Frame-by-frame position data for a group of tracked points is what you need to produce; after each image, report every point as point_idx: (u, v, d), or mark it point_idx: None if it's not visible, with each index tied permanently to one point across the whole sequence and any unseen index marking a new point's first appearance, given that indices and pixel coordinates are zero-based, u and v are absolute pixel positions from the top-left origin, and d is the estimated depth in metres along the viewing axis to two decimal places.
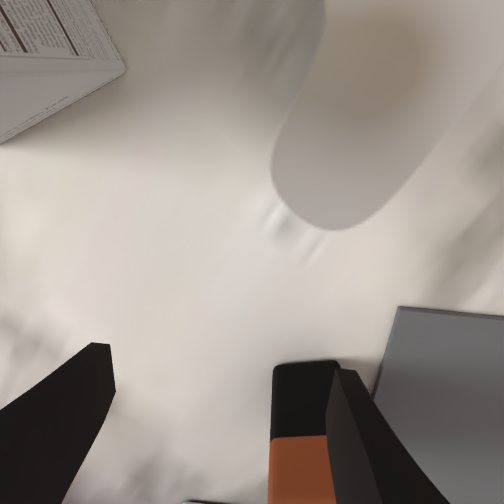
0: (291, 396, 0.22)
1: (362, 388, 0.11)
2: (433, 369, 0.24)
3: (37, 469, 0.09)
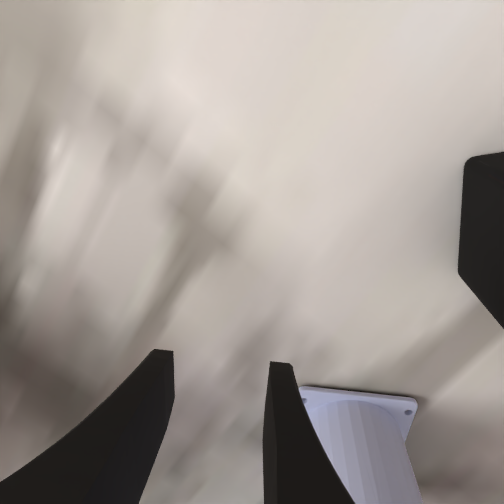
0: None
1: (290, 380, 0.11)
2: None
3: (122, 479, 0.09)
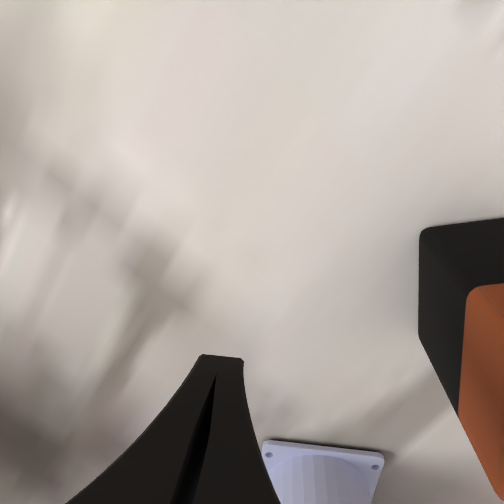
0: (472, 248, 0.15)
1: (237, 374, 0.11)
2: None
3: (187, 487, 0.09)
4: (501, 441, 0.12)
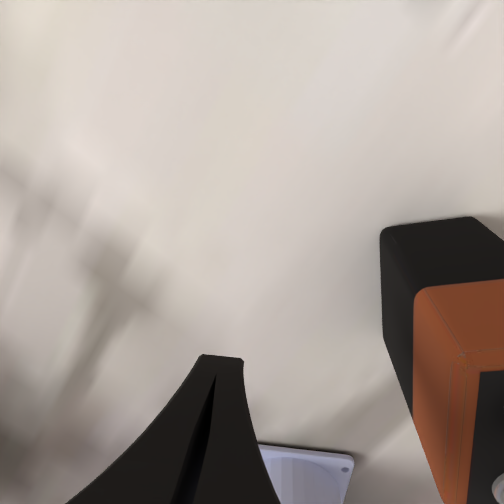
0: (426, 248, 0.15)
1: (237, 374, 0.11)
2: None
3: (187, 487, 0.09)
4: (444, 447, 0.12)
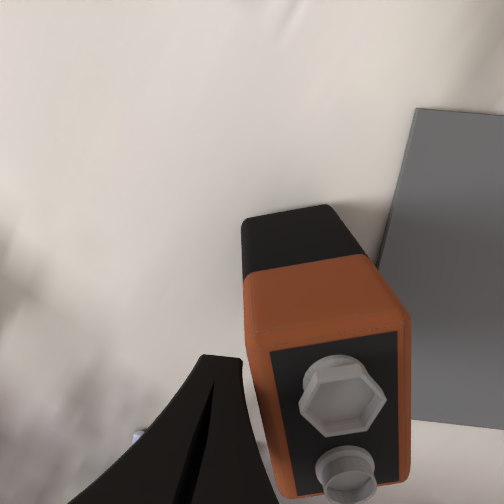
0: (271, 235, 0.15)
1: (236, 374, 0.11)
2: (463, 212, 0.17)
3: (188, 487, 0.09)
4: (265, 434, 0.11)
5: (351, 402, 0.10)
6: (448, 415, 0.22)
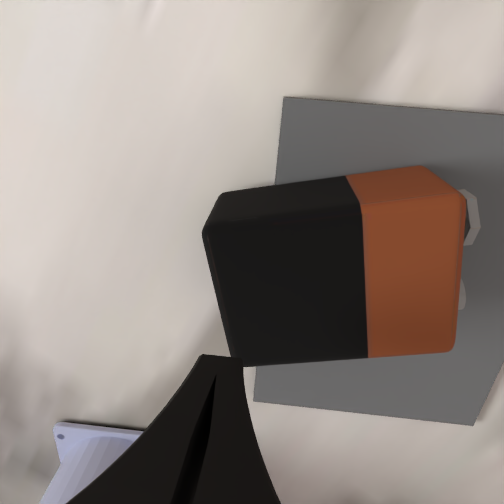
0: (280, 204, 0.14)
1: (236, 374, 0.11)
2: None
3: (187, 487, 0.09)
4: (452, 295, 0.14)
5: None
6: (356, 404, 0.22)
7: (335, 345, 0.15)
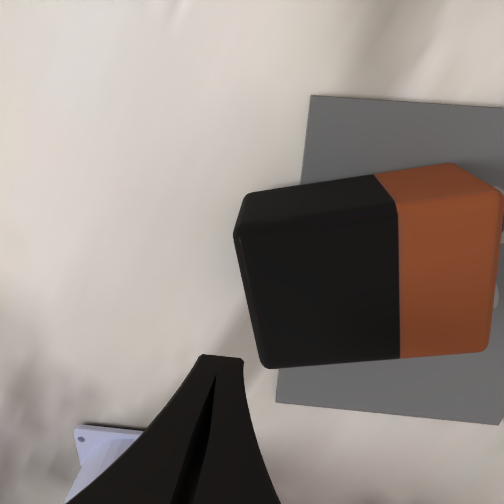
0: (311, 204, 0.14)
1: (237, 374, 0.11)
2: None
3: (187, 487, 0.09)
4: (488, 293, 0.14)
5: None
6: (379, 405, 0.22)
7: (367, 346, 0.15)
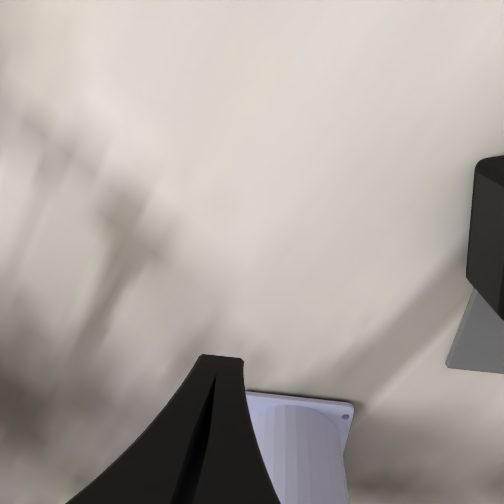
0: None
1: (237, 374, 0.11)
2: None
3: (187, 487, 0.09)
4: None
5: None
6: None
7: None
